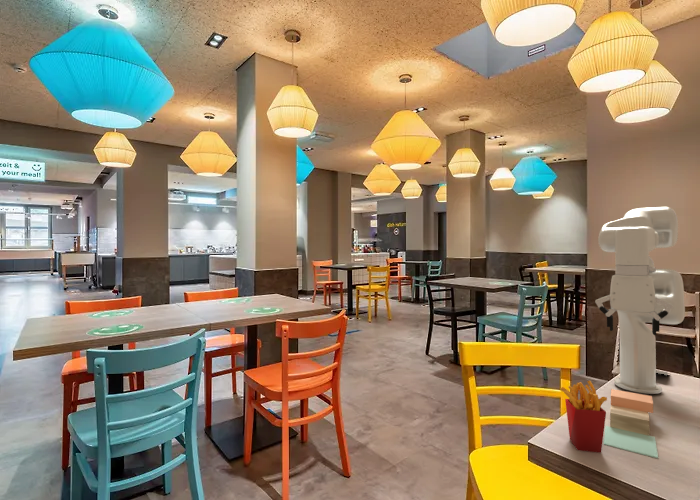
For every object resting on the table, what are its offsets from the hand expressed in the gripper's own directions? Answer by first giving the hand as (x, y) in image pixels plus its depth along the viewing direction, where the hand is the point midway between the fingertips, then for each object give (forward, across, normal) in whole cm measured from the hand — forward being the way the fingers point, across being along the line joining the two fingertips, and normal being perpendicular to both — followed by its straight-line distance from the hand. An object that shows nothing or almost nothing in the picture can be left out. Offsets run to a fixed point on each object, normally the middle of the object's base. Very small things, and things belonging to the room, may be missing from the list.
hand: (632, 331), depth 105 cm
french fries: (+22, +11, +28) cm, 38 cm away
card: (+19, 0, +5) cm, 20 cm away
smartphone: (+23, -7, -37) cm, 44 cm away
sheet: (+23, +1, +6) cm, 24 cm away
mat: (+23, +1, +20) cm, 30 cm away
